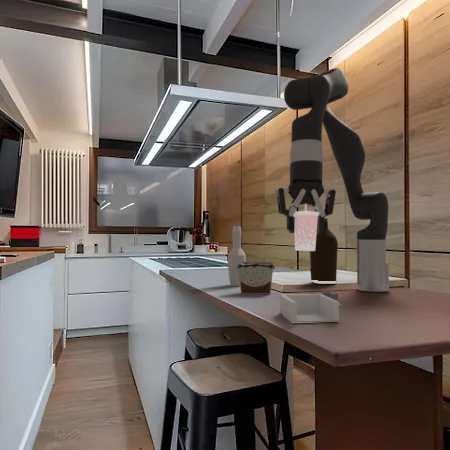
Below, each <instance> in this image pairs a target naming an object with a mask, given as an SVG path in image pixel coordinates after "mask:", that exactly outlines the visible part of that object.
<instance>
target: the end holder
mask: <svg viewBox="0 0 450 450" xmlns="http://www.w3.org/2000/svg"><path fill="white" fill-rule="evenodd" d="M339 303H340V302H339V300H338V301H336V300H334V299H331V298H329V297H327V296H325V295H323V294H322V293H314V294H309V293H296V294H290V293H289V294H284V293H283V294H279V314H280V313H281V314H282V315H284V316H285V317H286V318H288V319H289V320H290V321H292V322H339V323H340V321H339V320H340V319H339V318H340V317H339V316H340V315H339V314H340V313H339V310H340V309H339V308H340V306H339ZM281 314H280V315H281ZM282 315H281V316H282ZM284 316H283V317H284ZM285 317H284V318H285ZM286 318H285V319H286Z"/></svg>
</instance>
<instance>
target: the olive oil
mask: <svg viewBox="0 0 450 450" xmlns="http://www.w3.org/2000/svg"><path fill="white" fill-rule="evenodd" d="M328 219H329V218H326V217H325V220H324V231H322V233H321V234H316V247H315V251H309V262H310V263H309V264H310V269H309V271H310V281H311V280H318V281H336V282H337V274H338V273H337V272H338V271H337V270H338V269H337V268H338V252H339V251H338V248H339V244H338V243H339V242H338V239H337V237H336V235H335V234H334V233H333V232H332V231H331V230H330V229H329V220H328Z"/></svg>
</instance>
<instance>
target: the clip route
mask: <svg viewBox="0 0 450 450" xmlns="http://www.w3.org/2000/svg"><path fill="white" fill-rule="evenodd" d="M308 294H315V293H314V292H310V293H308ZM321 294H323V295H325V296H327V297H329V298H331V299H334V300H336V301H338V302H339V293H338V292H337V293H336V292H335V293H334V292H333V293H332V292H331V291H322V292H321ZM341 306H342V303H340V302H339V307H341Z"/></svg>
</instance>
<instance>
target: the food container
mask: <svg viewBox="0 0 450 450" xmlns="http://www.w3.org/2000/svg"><path fill="white" fill-rule="evenodd" d="M237 269H239V279H240V286H239V287H240V294H243V295H244V294H245V295H246V294H247V295H271V290H272V280H273V271H274V270H276V266H275V264H274V262H272V261H263V260H261V261H260V260H258V261H257V260H251V261H250V260H249V261H248V260H246V261H244V262H238V264H237Z"/></svg>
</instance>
